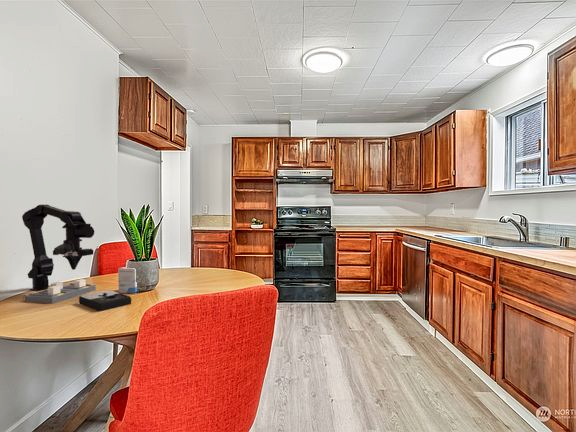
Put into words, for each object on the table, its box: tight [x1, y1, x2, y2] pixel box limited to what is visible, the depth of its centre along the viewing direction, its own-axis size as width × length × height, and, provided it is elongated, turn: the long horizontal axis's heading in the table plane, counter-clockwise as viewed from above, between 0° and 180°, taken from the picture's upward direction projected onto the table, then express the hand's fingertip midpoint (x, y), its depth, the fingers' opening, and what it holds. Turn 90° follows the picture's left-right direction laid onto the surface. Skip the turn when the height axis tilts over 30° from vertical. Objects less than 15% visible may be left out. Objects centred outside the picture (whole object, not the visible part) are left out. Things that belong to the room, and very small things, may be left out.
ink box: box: [117, 266, 138, 294], centre depth 167 cm, size 9×5×12 cm, turn 84°
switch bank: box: [23, 282, 97, 304], centre depth 161 cm, size 15×24×3 cm, turn 167°
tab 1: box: [50, 281, 64, 289], centre depth 161 cm, size 3×4×3 cm
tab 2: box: [47, 286, 61, 295], centre depth 153 cm, size 3×4×3 cm
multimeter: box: [78, 290, 132, 312], centre depth 146 cm, size 13×19×5 cm
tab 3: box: [73, 279, 87, 287], centre depth 167 cm, size 3×4×3 cm
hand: (73, 269), depth 167 cm, fingers closed
